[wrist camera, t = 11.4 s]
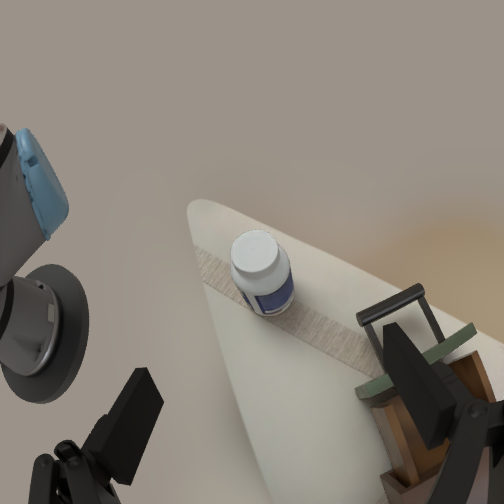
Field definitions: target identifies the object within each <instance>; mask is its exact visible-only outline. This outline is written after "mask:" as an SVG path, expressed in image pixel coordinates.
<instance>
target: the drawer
mask: <svg viewBox="0 0 504 504" xmlns="http://www.w3.org/2000/svg"><path fill="white" fill-rule="evenodd" d="M424 295H425V291H424V288H423V286H422V285H421V284H420V283H417V284H415V285H413V286H412V287H410V288H408V289H406V290H404V291H402V292H400V293H398V294H396V295H394V296H392V297H390V298H388V299H386V300H383V301H381V302H379V303H377V304H375V305H373V306H371V307H369V308H367V309H364V310H362V311H360V312H358V313H356V318H357V321H358V323H359V325H360V326H361V327H364V328H365V331H366V333H367V335H368V337H369V339H370V342H371V344H372V346H373V348H374V351H375V353H376V355H377V357H378V360H379V362H380V364H381V367H382V369H383V371H384V375H382V376H380V377H378V378H376V379H373V380H371V381H369V382H367V383H365V384H363V385H361V386H359V387H357V388H355V391H356V394H357V396H358V399H363V398H370V397H373V396H375V395H377V394H379V393H381V392H383V391H385V390H387V389H389V388H391V387H393V386H394V384H393V383H392V381H391V379H390V377H389V375H388V374H387V372H386V370H385V368H384V366H383V349H382V347H381V344H380V342H379V340H378V338H377V336H376V333H375V331H374V329H373V327H372V325H371V323H372V322H375V321H377V320H379V319H381V318H383V317H385V316H387V315H389V314H391V313H393V312H395V311H397V310H399V309H401V308H403V307H405V306H406V305H408V304H410V303H412V302H414V301H416V300H418V303H419V304H420V306H421V308H422V310H423V312H424V314H425V316H426V318H427V320H428V322H429V324H430V326H431V328H432V331H433V333H434V335H435V337H436V339H437V341H438V344H437V345H435V346H434V347H432V348H430V349H429V350H427V351H425V352H424V353H422V355H423V357H424V358H425V359H426V360H427V362H428V363H429V364H430V365H431V364H433V363H435V362H436V361H438V360H439V359H441V358H443V357H444V356H446V355H447V354H449V353H450V352H452V351H453V350H455V349H456V348H458V347H459V346H460V345H462V344H463V343H465V342H466V341H468V340H469V339H470V338H472V337H473V336H474V335H476V334H477V331H476V329H475V327H474V325H473V323H470V324H468V325H467V326H465V327H464V328H462V329H461V330H459V331H458V332H456V333H454V334H453V335H451V336H450V337H448V338H446V339H445V338H444V335H443V333H442V331H441V329H440V327H439V325H438V323H437V321H436V319H435V317H434V315H433V313H432V311H431V309H430V307H429V305H428V303H427V301H426V299H425V297H424ZM447 365H448V366H449V367H450V368H451V369H452V370H453V371H454V374H456V375H457V376H458V378H459V379H460V380H461V381H462V382H463V384H464V385H465V386H466V387H467V389H468V390H469V391H470V393H471V394H472V395H473V396H474V397H475V398H476V399H478V398H479V399H483V400H485V401H487V402H488V403H493V402H496V399H495V396H494V393H493V390H492V387H491V384H490V382H489V379H488V376H487V374H486V371H485V369H484V366H483V364H482V361H481V359H480V356H479V354H478V352H477V350H476V351H474V352H472V353H469V354H467V355H465V356H463V357H460V358H458V359H456V360H453V361H451V362H450V363H448V364H447ZM371 410H372V413H373V415H374V418H375V421H376V423H377V426H378V428H379V431H380V434H381V436H382V439H383V442H384V444H385V447H386V450H387V453H388V455H389V458H390V461H391V464H392V466H393V469H394V472H395V475H396V478H397V481H398V482H399V483H401V484H402V485H403V486H404V487H406V488H408V487H409V486H411V485H413V484H415V483H417V482H419V481H420V480H422V479H424V478H425V477H427V476H429V475H431V474H432V473H434V472H435V471H437V470H439V469H440V468H441V465H442V463H443V460H444V457H445V453H446V451H447V449H448V446H449V444H450V442H449V440H448V438H447V437H446V439H445V441H444V444H443V445H441V446H438V447H436V448H434V449H432V450H429V451H428V450H427V448H426V446H425V444H424V442H423V440H422V438H421V436H420V434H419V432H418V430H417V428H416V426H415V424H414V422H413V420H412V418H411V416H410V414H409V412H408V410H407V409H406V407H405V405H404V403H403V401H402V399H401V397H400V395H399V394H397V395H395V396H393V397H391V398H389V399H387V400H385V401H383V402H381V403H379V404H377V405H375V406H373V407H371Z"/></svg>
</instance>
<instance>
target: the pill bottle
mask: <svg viewBox="0 0 504 504" xmlns="http://www.w3.org/2000/svg"><path fill="white" fill-rule="evenodd" d="M230 256H231V260H232V261H231V266H230V271H231V276H232V279H233V281H234V283H235V285H236V286H237V288H238V290H239V291H240V293H241V295H242V296H243V298H244V299H245V301H246V303H247V304H248V306H249V307H250V308H251V309H252V310H253V311H254V312H255V313H257V314H260V315H263V316H274V315H278V314H280V313H282V312H283V311H285V310H286V309H287V308H288V307H289V305H290V304H291V302H292V300H293V296H294V286H293V280H292V274H291V268H290V261H289V258H288V255H287V253H286V251H285V250H284V249H283V248H282V247H281V246H280V245H279V244H277V241H276V240H275V238H274V237H273V236H272V235H271V234H269V233H268V232H265V231H262V230H252V231H248V232H245V233H243V234H242V235H240V236H239V237H238V238H237V239H236V240H235V241H234V243H233V244H232V247H231V251H230Z"/></svg>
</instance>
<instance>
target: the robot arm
mask: <svg viewBox="0 0 504 504" xmlns="http://www.w3.org/2000/svg"><path fill="white" fill-rule="evenodd" d="M68 212H69V204H68V200H67V197H66V195H65V192H64V190H63V188H62V186H61V184H60V182H59V180H58V178H57V176H56V174H55V172H54V170H53V168H52V166H51V164H50V162H49V161H48V159H47V157H46V155H45V154H44V152H43V150H42V148H41V147H40V145H39V143H38V142H37V140H36V138H35V137H34V135H32V133H31V132H30V130H29V129H27V128H23V129H22V130H18V131H17V132H16V135H13V134H12V133H11V132H10V130H9V129H8V128H7V127H6V126H5V125H4V124H2V123H1V124H0V363H1V362H3V363H4V364H5V365H6V366H7V367H9V368H10V369H11V370H12V371H13V372H15V373H17V374H20V375H23V376H26V377H35V376H38V375H40V374H41V373H43V372H44V371H45V370H46V369H47V368H48V367H49V365H50V364H51V362H52V361H53V359H54V357H55V355H56V353H57V350H58V348H59V344H60V341H61V336H62V330H63V308H62V304H61V300H60V298H59V296H58V294H57V293H56V291H55V290H54V289H53V288H51V287H50V286H48V285H47V284H45V283H44V282H42V281H37V280H32V279H27V278H22V277H18V276H14V275H15V274H16V272H17V271H18V270H19V269H20V268H21V267H22V266H23V265H24V263H25V262H26V261H27V260H28V259H29V258H30V257H31V256H32V255H33V253H34V252H35V251H36V250H37V249H38V248H39V247H40V246H41V245H42V244H43V243H44V242H45V241H46V240H47V241H48V240H49V239H50V237H51V235H52V234H53V233H54V231H55V230H56V229H57V228H58V227H59V226H60V225H61V224H62V223H63V222H64V221H65V219H66V218H67V215H68ZM383 366H384V368H385V370H386V372H387V374H388V375H389V377H390V379H391V381H392V383H393V384H394V386H395V388H396V390H397V392H398V394H399V395H400V397H401V399H402V401H403V403H404V405H405V407H406V409H407V410H408V412H409V414H410V416H411V418H412V420H413V422H414V424H415V426H416V428H417V430H418V432H419V434H420V436H421V438H422V440H423V442H424V444H425V446H426V448H427V450H428V451H429V450H432V449H434V448H436V447H438V446H441V445H443V444H444V441H445V439H446V437H447V438H448V440H449V442H450V444H449V446H448V449H447V451H446V453H445V457H444V460H443V463H442V465H441V468H440V470H439V473H438V475H437V478H436V480H435V482H434V484H433V487H432V489H431V491H430V493H429V495H428V498H427V500H426V502H425V504H466V503H467V500H468V498H469V495H470V492H471V489H472V486H473V483H474V480H475V477H476V474H477V470H478V467H479V463H480V460H481V456H482V452H483V448H485V447H489V484H488V500H487V504H504V400H502V401H498V402H493V403H488V402H487V401H485V400H483V399H479V398H478V399H476V398H475V397H474V396H473V395H472V394H471V393H470V391H469V390H468V389H467V387H466V386H465V385H464V384H463V382H462V381H461V380H460V379H459V378H458V376H457V375H456V374H454V371H453V370H452V369H451V368H450V367H449V366H448V365H446V364H445V363H443V362H441V361H440V362H437V363H435V364H432V365H430V364H429V363H428V362H427V360H426V359H425V358H424V357H423V355H422V354H421V353H420V351H419V350H418V349H417V348H416V346H415V345H414V344H413V343H412V341H411V340H410V339H409V338H408V336H407V335H406V334H405V333H404V331H403V330H402V329H401V328H400V326H399V325H398V324H397V323H396V322H394V323H391V324H387V325H384V326H383ZM163 404H164V401H163V399H162V397H161V395H160V393H159V391H158V389H157V387H156V385H155V383H154V381H153V379H152V377H151V375H150V373H149V371H148V369H147V367H145V368H135V370H134V372H133V373H132V375H131V377H130V378H129V380H128V382H127V383H126V385H125V386H124V388H123V390H122V391H121V393H120V395H119V396H118V398H117V400H116V401H115V403H114V405H113V406H112V408H111V410H110V411H109V413H108V415H107V414H104V415H103V416H102V417H101V418H100V419H99V420H98V421H97V423H96V424H95V426H94V428H93V429H92V431H91V434H89V436H88V438H87V439H86V441H85V443H84V444H83V446H82V448H81V449H79V447H78V446H77V445H76V444H75V443H74V442H73V441H72V440H64V441H62V442H60V443H59V444H58V445H57V446H56V447H55V449H54V454H55V455H56V456H57V457H58V458H59V459H60V460H54V458H53V457H52V456H51V455H49V454H42V455H40V456H38V457H37V458H36V460H35V462H34V466H33V472H32V478H31V485H30V493H29V503H28V504H121V503H120V500H119V498H118V496H117V494H116V492H115V489H114V487H113V485H112V484H111V483H110V480H111V478H113V479H114V480H115V481H116V482H117V483H119V484H124V485H129V486H130V485H131V484H132V481H133V478H134V476H135V473H136V471H137V468H138V466H139V463H140V461H141V458H142V456H143V453H144V450H145V448H146V445H147V443H148V440H149V438H150V435H151V433H152V431H153V428H154V426H155V423H156V421H157V418H158V416H159V413H160V411H161V408H162V406H163ZM57 490H58V494H57V493H56V491H57Z"/></svg>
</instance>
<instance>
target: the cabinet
mask: <svg viewBox="0 0 504 504" xmlns="http://www.w3.org/2000/svg"><path fill="white" fill-rule="evenodd" d="M439 470H440V469H439ZM439 470H437V471H435V472H434V473H432V474H431V475H429V476H427V477H425V478H424V479H422V480H420V481H419V482H417V483H415V484H413V485H411V486H409V487H408V488H406V487H404V486H403V485H402V484H401V483H399V482H398V481H397V478H396V475H395V472H394V469H392V470H390V471H388V472H386V473H384V474H382V475H380V478H381V481H382V484H383V487H384V490H385V493H386V495H387V498H388V501H389V504H425V502H426V500H427V498H428V495H429V493H430V491H431V489H432V487H433V484H434V482H435V480H436V478H437V475H438V473H439ZM488 484H489V447H485V448H483V452H482V456H481V460H480V463H479V467H478V470H477V474H476V477H475V480H474V483H473V486H472V489H471V492H470V495H469V498H468V500H467V503H466V504H487V500H488Z"/></svg>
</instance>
